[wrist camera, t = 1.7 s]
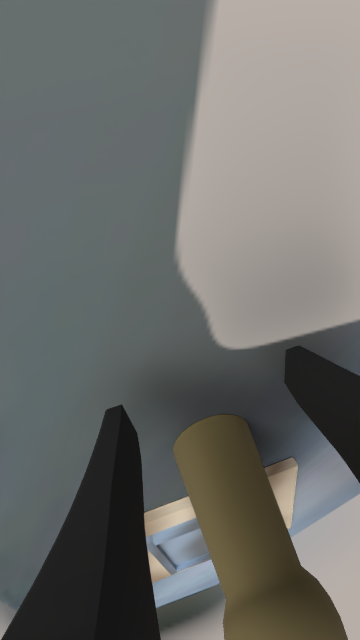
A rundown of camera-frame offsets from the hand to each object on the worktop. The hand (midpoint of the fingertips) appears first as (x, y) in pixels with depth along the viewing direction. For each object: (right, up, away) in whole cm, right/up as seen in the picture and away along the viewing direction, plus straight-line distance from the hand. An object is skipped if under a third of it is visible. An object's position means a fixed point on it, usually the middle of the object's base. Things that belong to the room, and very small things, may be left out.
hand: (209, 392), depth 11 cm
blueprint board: (+1, -19, +16) cm, 25 cm away
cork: (+1, -6, +8) cm, 10 cm away
